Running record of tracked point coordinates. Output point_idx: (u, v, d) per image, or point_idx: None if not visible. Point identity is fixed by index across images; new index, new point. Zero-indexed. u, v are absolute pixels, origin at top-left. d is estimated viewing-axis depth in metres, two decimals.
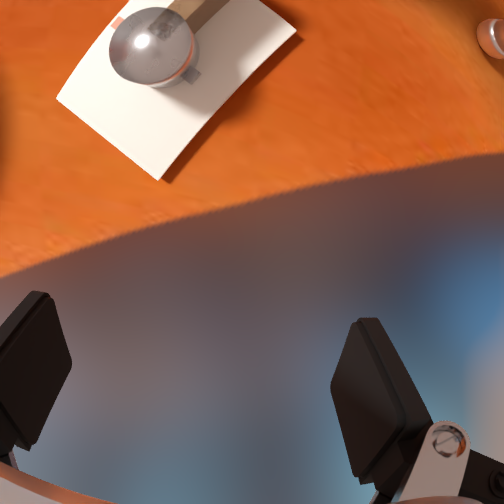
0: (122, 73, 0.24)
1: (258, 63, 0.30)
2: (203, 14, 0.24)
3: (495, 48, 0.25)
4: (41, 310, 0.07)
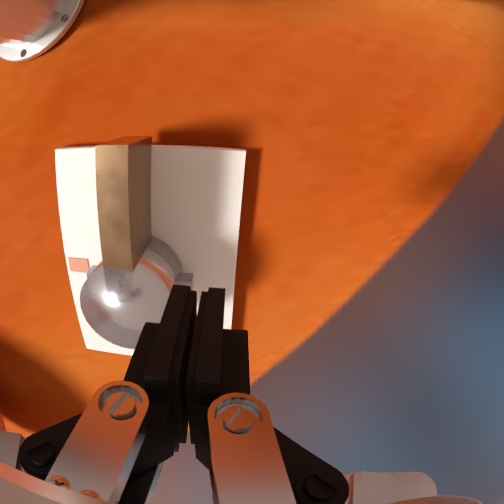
0: (128, 345, 0.25)
1: (237, 219, 0.28)
2: (142, 230, 0.24)
3: None
4: (193, 303, 0.09)
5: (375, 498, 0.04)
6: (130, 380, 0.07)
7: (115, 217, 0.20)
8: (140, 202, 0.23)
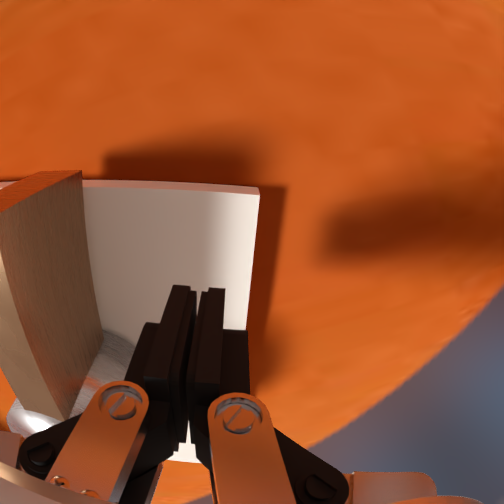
0: None
1: (243, 311, 0.16)
2: (77, 344, 0.12)
3: None
4: (193, 303, 0.09)
5: (375, 498, 0.04)
6: (130, 380, 0.07)
7: (12, 348, 0.08)
8: (61, 304, 0.11)
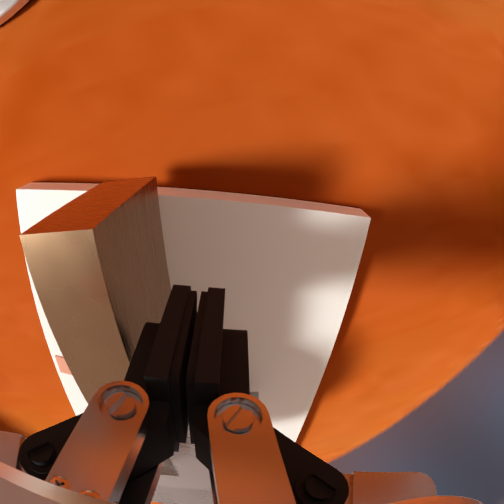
0: (174, 503, 0.13)
1: (337, 324, 0.17)
2: None
3: None
4: (193, 303, 0.09)
5: (375, 498, 0.04)
6: (130, 380, 0.07)
7: (107, 379, 0.09)
8: (153, 322, 0.11)
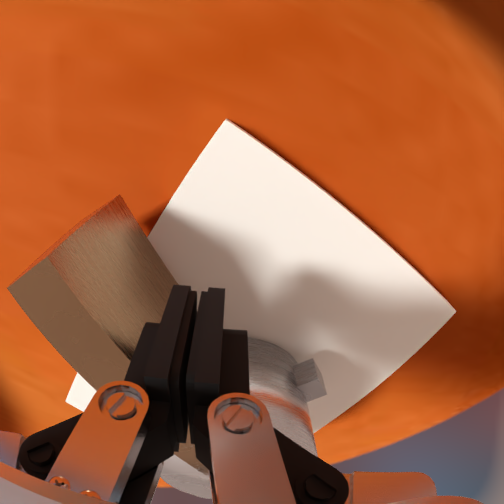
0: None
1: (390, 372, 0.19)
2: None
3: None
4: (194, 303, 0.09)
5: (375, 498, 0.04)
6: (130, 380, 0.07)
7: None
8: None
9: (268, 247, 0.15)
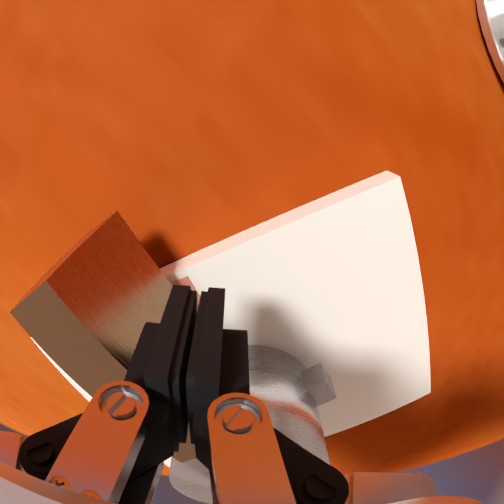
0: None
1: (361, 422, 0.21)
2: None
3: None
4: (193, 303, 0.09)
5: (375, 499, 0.04)
6: (130, 380, 0.07)
7: None
8: None
9: (359, 289, 0.16)
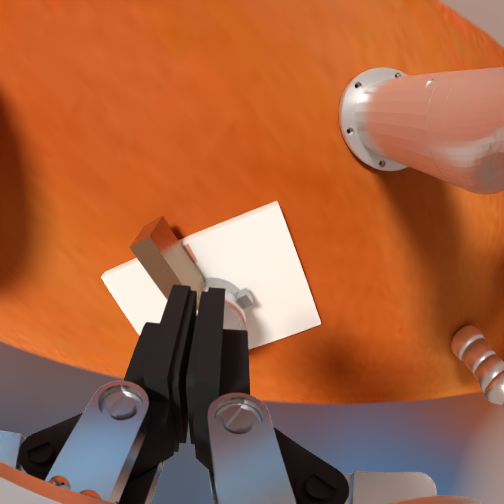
0: None
1: (278, 338, 0.43)
2: (193, 279, 0.34)
3: (458, 355, 0.45)
4: (193, 303, 0.09)
5: (375, 499, 0.04)
6: (130, 380, 0.07)
7: (169, 282, 0.30)
8: (180, 262, 0.32)
9: (263, 253, 0.37)
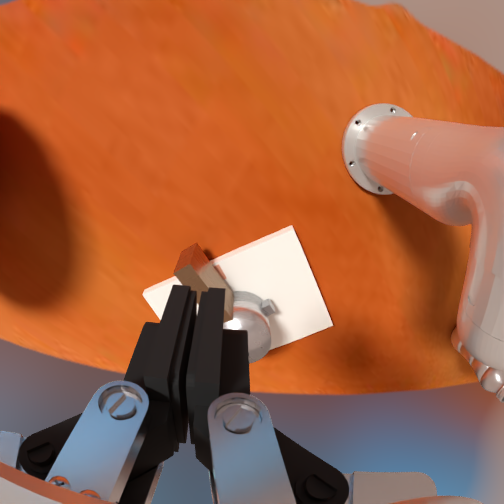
0: (254, 360, 0.42)
1: (297, 338, 0.50)
2: (225, 294, 0.41)
3: (457, 349, 0.50)
4: (193, 303, 0.09)
5: (375, 498, 0.04)
6: (130, 380, 0.07)
7: None
8: (214, 282, 0.40)
9: (282, 269, 0.44)
